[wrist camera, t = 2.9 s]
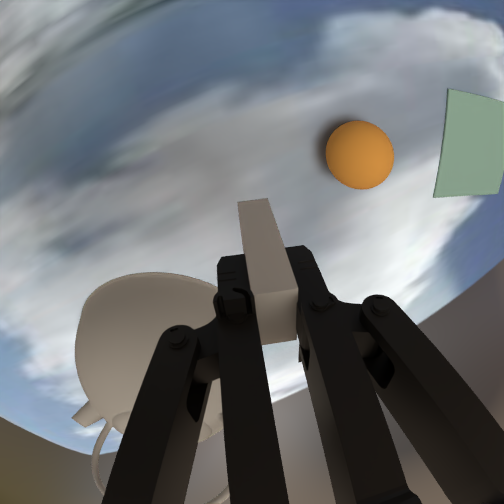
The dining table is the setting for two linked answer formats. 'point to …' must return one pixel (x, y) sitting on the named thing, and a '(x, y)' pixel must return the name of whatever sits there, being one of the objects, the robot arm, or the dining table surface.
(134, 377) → the kettle
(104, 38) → the dining table surface
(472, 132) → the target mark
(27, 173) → the dining table surface
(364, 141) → the ball
